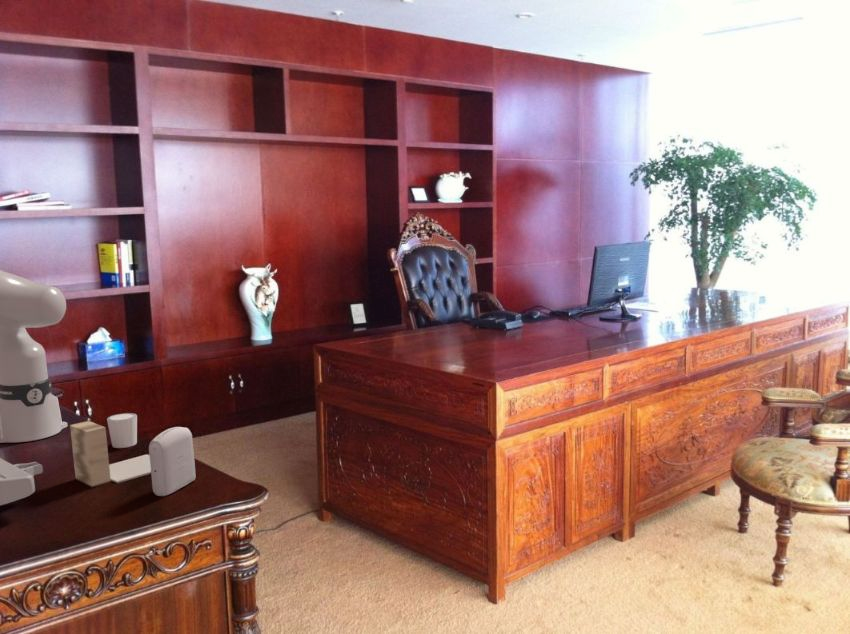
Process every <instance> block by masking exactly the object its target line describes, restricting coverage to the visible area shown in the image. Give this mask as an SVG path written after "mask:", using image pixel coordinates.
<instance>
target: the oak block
mask: <svg viewBox="0 0 850 634" xmlns="http://www.w3.org/2000/svg"><path fill="white" fill-rule="evenodd" d="M69 428H70V429H69V430H70V437H71V439H70V440H71V447H72V458H73V466H74V468H73V469H74V474H75V475H74V476H75V480H77V481H78V482H81V483H82V484H85V485H86V486H88V487H90V488H94V487H98V486H102V485H106V484H109V483H111V482H112V480H111V478H110V468H109V465H110V460H109V459H110V457H109V452H108V451H109V450H108V440H107V429H106V427H105V426H103V425H101V424H98V423H95V422H93V421H89V420H86V421H82V422H78V423H74V424H69Z"/></svg>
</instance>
